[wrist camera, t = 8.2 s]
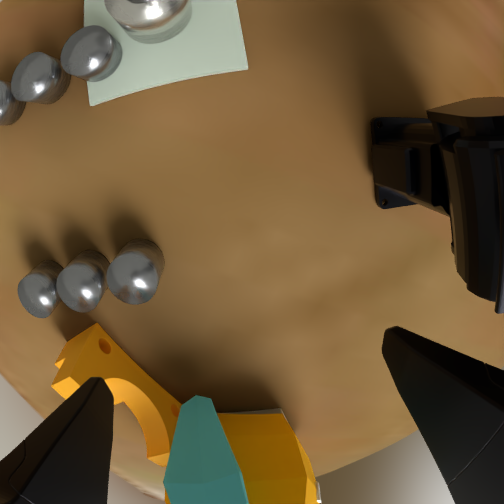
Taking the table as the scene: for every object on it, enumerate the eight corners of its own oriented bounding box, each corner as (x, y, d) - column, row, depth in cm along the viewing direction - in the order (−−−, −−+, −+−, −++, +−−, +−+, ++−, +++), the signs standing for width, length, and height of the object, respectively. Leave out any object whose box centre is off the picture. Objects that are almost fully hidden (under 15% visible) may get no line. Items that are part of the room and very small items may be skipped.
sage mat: (226, -44, 12) (226, -48, 11) (247, 69, 15) (248, 67, 15) (87, -10, 11) (84, -13, 10) (92, 106, 15) (89, 105, 14)
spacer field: (122, 33, 13) (108, 17, 10) (169, 278, 20) (163, 300, 17) (-4, 94, 12) (-27, 92, 10) (45, 300, 19) (29, 319, 16)
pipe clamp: (67, 340, 21) (40, 391, 15) (97, 321, 20) (69, 376, 14) (154, 418, 25) (148, 469, 19) (186, 406, 25) (184, 461, 19)
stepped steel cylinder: (188, -16, 12) (184, -49, 8) (195, 35, 14) (191, 7, 10) (122, 0, 12) (103, -28, 8) (126, 52, 13) (104, 31, 10)
